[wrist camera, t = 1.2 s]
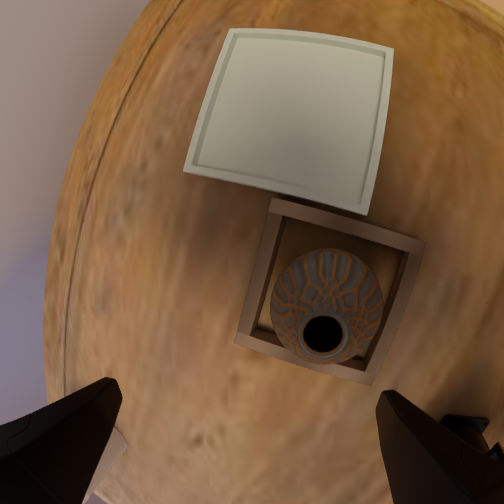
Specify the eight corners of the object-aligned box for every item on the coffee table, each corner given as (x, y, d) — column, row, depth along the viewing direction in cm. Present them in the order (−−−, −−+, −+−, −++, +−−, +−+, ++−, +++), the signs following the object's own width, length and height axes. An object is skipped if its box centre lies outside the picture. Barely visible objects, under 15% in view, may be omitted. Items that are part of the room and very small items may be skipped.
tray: (391, 58, 17) (393, 48, 15) (364, 216, 19) (366, 215, 18) (235, 37, 20) (229, 28, 19) (191, 174, 23) (182, 171, 21)
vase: (285, 242, 21) (250, 252, 12) (378, 248, 19) (408, 262, 10) (280, 331, 21) (245, 388, 13) (367, 338, 20) (381, 403, 11)
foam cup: (134, 432, 28) (68, 486, 16) (137, 468, 29) (85, 516, 17) (83, 397, 30) (18, 435, 18) (90, 436, 32) (37, 474, 19)
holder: (418, 241, 18) (426, 242, 16) (369, 374, 20) (371, 385, 18) (277, 199, 21) (272, 197, 19) (241, 334, 22) (233, 342, 21)
